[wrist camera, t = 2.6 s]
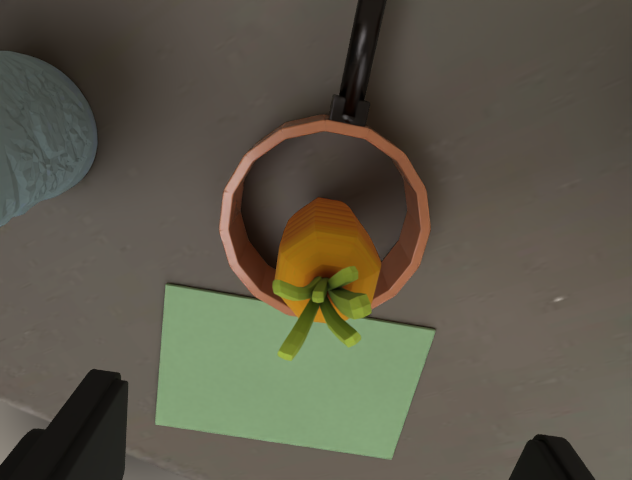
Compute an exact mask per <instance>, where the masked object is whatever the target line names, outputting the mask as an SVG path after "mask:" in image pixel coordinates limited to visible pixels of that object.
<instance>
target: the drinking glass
mask: <svg viewBox="0 0 632 480" xmlns="http://www.w3.org/2000/svg"><path fill="white" fill-rule="evenodd" d="M97 144H98V140H97V127H96V122H95V119H94V116H93V112H92V110H91V108H90V106H89V104H88V102H87V100H86V99H85V97H84V96H83V94H82V93H81V91H80V90H79V88H78V87H77V86H76V85H75V84H74V82H73V81H72V80H70V79H69V78H68V77H67V76H66V75H65V74H64V73H62V72H61V71H60V70H58V69H57V68H55V67H54V66H52V65H50V64H48V63H46V62H44V61H42V60H40V59H38V58H35V57H32V56H29V55H25V54H21V53H16V52H12V51H0V227H1V226H3V225H5V224H6V223H8V222H9V220H10V219H11V218H12V217H15V216H19V215H22V214H25V213H26V212H27V211H28V210H29V209H30V208H31V207H33V206H34V205H35V204H37V203H38V202H40V201H42V200H46V199H50V198H53V197H56V196H58V195H60V194H61V193H63V192H65V191H66V190H68V189H70V188H72V187H73V186H74V185H76V184H77V183H79V182H80V181H81V180H82V179H83V178H84V176H85V175H86V174H87V172H88V171H89V169H90V167H91V165H92V163H93V161H94V158H95V155H96V150H97Z"/></svg>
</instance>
